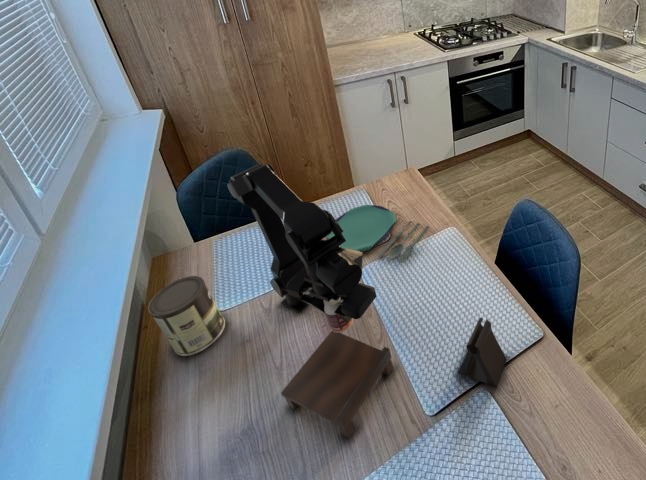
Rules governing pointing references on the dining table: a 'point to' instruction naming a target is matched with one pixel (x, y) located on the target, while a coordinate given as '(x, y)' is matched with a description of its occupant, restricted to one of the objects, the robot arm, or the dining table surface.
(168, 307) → the coffee can
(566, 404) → the dining table surface
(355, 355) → the shelf
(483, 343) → the phone stand
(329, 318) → the pill bottle
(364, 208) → the cutlery set
